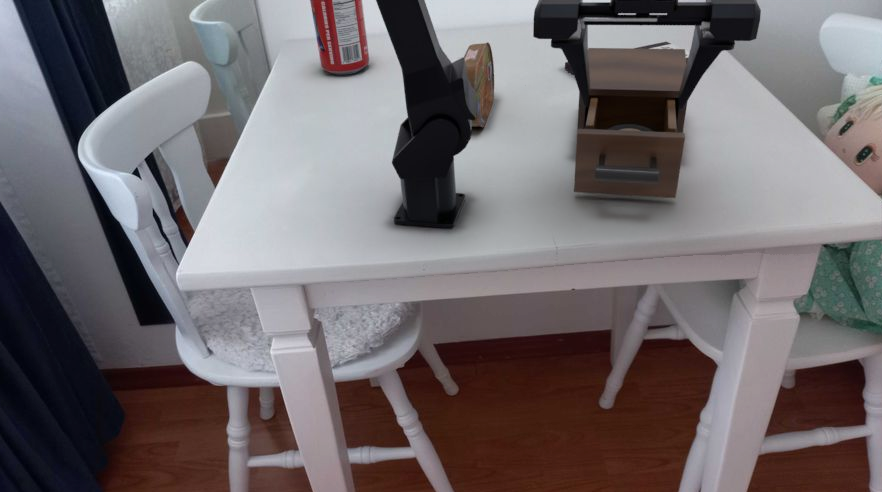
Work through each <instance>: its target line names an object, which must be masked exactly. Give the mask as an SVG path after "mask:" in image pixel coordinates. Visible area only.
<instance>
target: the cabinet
mask: <svg viewBox="0 0 882 492" xmlns="http://www.w3.org/2000/svg"><path fill="white" fill-rule="evenodd" d="M685 50H686V49H685V48H682V49H633V47H631V48H628V47H627V48H619V47H617V48H616V47H611V48H610V47H588V58H589V75H590V98H589V106H590V100H591V95H596V96H632V97H668V98H675V110H676V128H677V129H676V133H684V126H685V120H686V114H687V107H688V102H687V103H686V104H685V106H684V108H683V109H682V110H678V98H679V91H680V86H681V83H682V79H683V75H684V72H685V68H686V56H685ZM577 109H578V111H577V124H576V125H577V129H576V133H577V132H578V129H586V122H587V117H588V111H589V107H584V104H583V101H582V98H581V95H580V92H579V91H578V108H577ZM576 144H577V142H576ZM576 144H575V145H576Z"/></svg>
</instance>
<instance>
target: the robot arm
mask: <svg viewBox="0 0 882 492" xmlns="http://www.w3.org/2000/svg"><path fill="white" fill-rule="evenodd" d="M583 1H584V0H538V1H537V3H536V6H535V8H534V11H533V28H532V29H533V30H532V31H533V32H532V33H533V34H532V35H533V38H535V39H538V40H551V41H550V48H552V49H560V50H561V51H562V53H563V55H564V57H565V59H566V62H568V63H569V65H570V67H571V69H572V71H573V73H572V74H573V76H574V79H575V82H576V85H577V89H578V93H579V92H580V95H581V98H582V101H583V104H584V107H589V98H590V75H589V58H588V48H589V35H588V34H589V33H588V30H589V27H588V26H694V29H693V35H692V41H691V46H690V50H689V52H690V53H689V57H688V61H687V64H686V68H685V72H684V75H683V79H682V83H681V86H680V91H679V98H678V110H682V109H683V108H684V106H685V104H686V103H687V104H688V101H689V99H690V97H691V96H692V94H693V93H694V91H695V89H696V87H697V86H698V84H699V82H700V81H701V79H702V78H703V76H704V75H705V73H706V72H707V71H708V70H709V68H711V66H712V65H713V63H714V62H715V60H716V59H717V58H718V57H719V55H720V54H721V53H722V52H724V51H732V50H734V49H735V45H736V42H750V41H751V42H752V41H754V40H756V39H757V36H758V32H759V27H760V22H761V15H762V14H761V12H762V10H761V7H760V4H759V3H758V1H757V0H705V1H696V2H695V1H679V0H610V1H609V2H603V1H601V2H597V1H596V2H595V1H592V2H589V1H588V2H587V1H585V2H583ZM375 2H376V4H377V5H376V6H377V8H378V10H379V12H380V15H381V18H382V21H383V23H384V26H385V28H386V32H387V34H388V36H389V39H390V42H391V45H392V47H393V50H394V52H395V55H396V58H397V59H398V63H399V66H400V68H401V73H402V81H403V89H404V90H403V91H404V98H405V99H404V100H405V109H406V114H407V117H406V118H405V119H404V121H402V123H401V124H400V126H399V131H398V134H397V138H396V142H395V147H394V151H393V156H392V159H391V164H392V167H393V168H394V170H395V172H396V174H397V176H398V178H399V180H400V188H401V198H402V202H401V204H400V206H399V208H398V210H397V211H396V212H395V215H394V216H393V223H394V224H395V225H404V226H405V225H407V226H417V227H418V226H420V227H432V228H446V229H450V228H453V227H455V225H456V222H457V219H458V217H459V215H460V212H461V211H462V208H463V206H464V203H465V200H466V194H465V193H462V192H457V189H456V173H455V172H456V171H455V157H454V156H456V155H459V154H460V153H462V152H463V151H464V150H465V149H466V148H467V146H468V144H469V142H470V141H471V138H472V127H471V126H472V120H475V119H476V91H475V90H474V88H473V87H472V86H471V84H470V82H469V80H468V76H467V70H466V63H465V58H464V57H460V58H459V59H456V60H455V61H453V62H452V61H451V60H450V58H449V57H448V55H446V53H445V52H444V50H443V48H442V46H441V45H440V41H439V39H438V37H437V33H436V30H435V26H434V24H433V21H432V19H431V16H430V12H429V9H428V7H427V3H426V0H375Z"/></svg>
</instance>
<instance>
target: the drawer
mask: <svg viewBox="0 0 882 492" xmlns="http://www.w3.org/2000/svg"><path fill="white" fill-rule="evenodd" d="M624 124H633V125H640V126H644V127H647V128H649V129H651V130H652V131H653V132H650V131H624V130H607V129H609V128H611V127H613V126H617V125H624ZM676 129H677V128H676V110H675V98H668V97H632V96H596V95H591V100H590V106H589V111H588V117H587V122H586V129H578V132H577V131H576V143H577V144H575V145H576V146H575V162H574V163H575V164H574V179H573V181H574V182H573V192H574V193H585V194H586V193H587V194H602V195H618V196H633V197H635V196H636V197H650V198H651V197H652V198H665V199H666V198H668V199H676V198H677V192H678V185H679V178H680V173H681V167H682V166H681V165H682V160H683V153H684V147H685V140H686V136H685V135H686V134H685V132H683V133H676Z"/></svg>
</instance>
